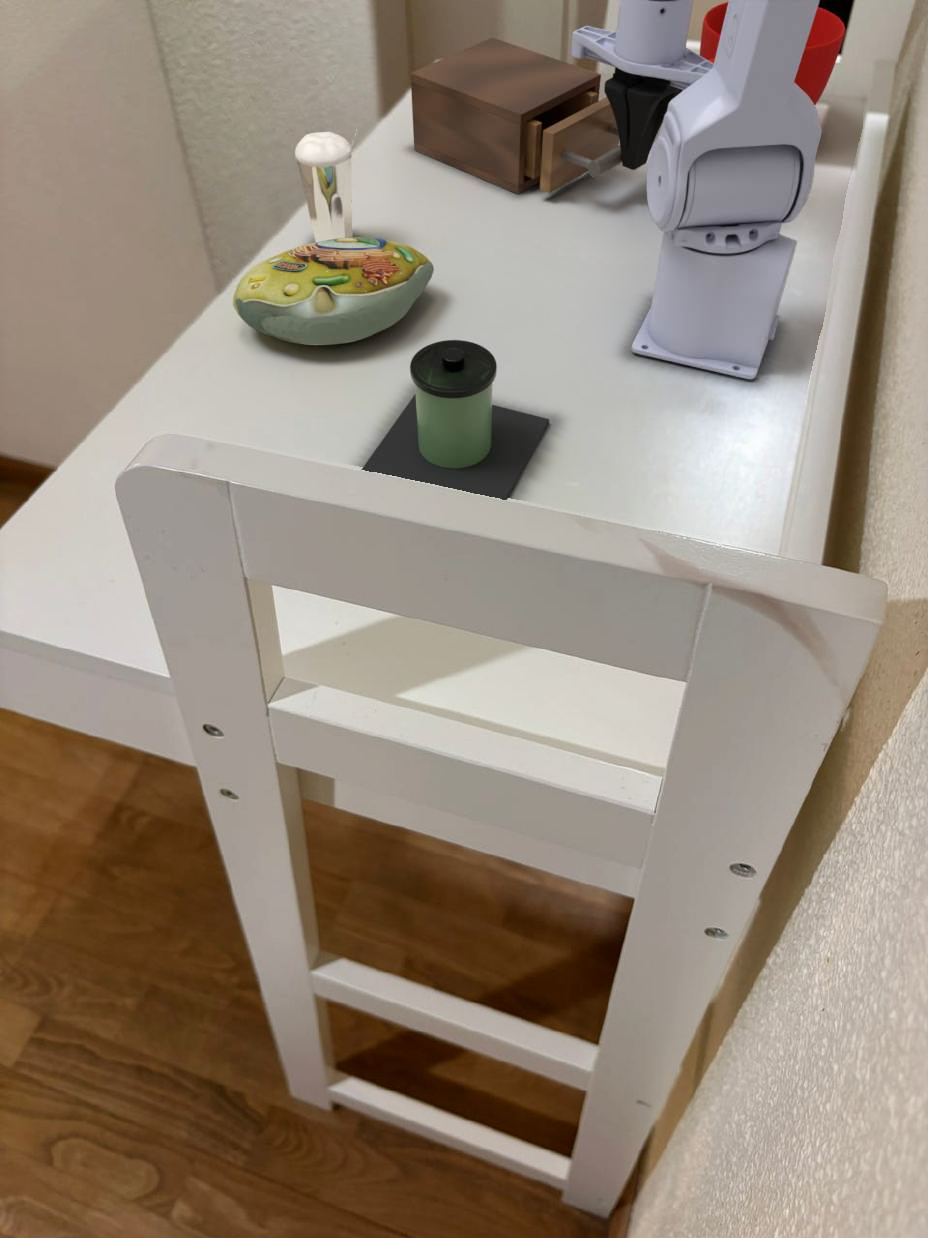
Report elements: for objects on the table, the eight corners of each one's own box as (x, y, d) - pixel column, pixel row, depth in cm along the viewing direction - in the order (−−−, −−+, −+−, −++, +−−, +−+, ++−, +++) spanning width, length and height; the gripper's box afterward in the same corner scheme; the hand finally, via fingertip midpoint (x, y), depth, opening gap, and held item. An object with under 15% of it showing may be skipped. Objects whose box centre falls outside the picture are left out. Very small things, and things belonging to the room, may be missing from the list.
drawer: (656, 169, 87) (665, 109, 83) (588, 210, 83) (594, 149, 78) (519, 116, 95) (521, 60, 90) (449, 152, 90) (448, 93, 86)
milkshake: (361, 261, 79) (349, 141, 71) (301, 255, 80) (283, 135, 72) (375, 234, 82) (365, 116, 74) (317, 228, 83) (301, 110, 75)
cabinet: (593, 151, 92) (601, 73, 86) (517, 194, 86) (521, 114, 81) (490, 112, 97) (492, 36, 92) (414, 150, 92) (410, 72, 87)
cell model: (218, 273, 74) (378, 171, 72) (272, 353, 79) (423, 258, 78) (232, 321, 65) (413, 206, 64) (292, 406, 71) (461, 301, 69)
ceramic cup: (632, 143, 93) (647, 31, 85) (737, 95, 100) (760, -13, 92) (736, 189, 87) (762, 73, 79) (840, 134, 93) (874, 23, 86)
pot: (506, 430, 64) (509, 339, 59) (476, 480, 61) (477, 389, 56) (434, 411, 66) (430, 321, 60) (401, 459, 63) (394, 368, 57)
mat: (549, 423, 66) (549, 418, 65) (498, 515, 60) (498, 511, 59) (420, 390, 68) (420, 385, 68) (360, 476, 62) (359, 471, 62)
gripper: (766, -4, 71) (728, 173, 81) (614, -45, 77) (596, 125, 88) (715, 21, 68) (682, 203, 78) (560, -24, 74) (549, 150, 84)
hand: (634, 164), depth 83 cm, fingers closed
